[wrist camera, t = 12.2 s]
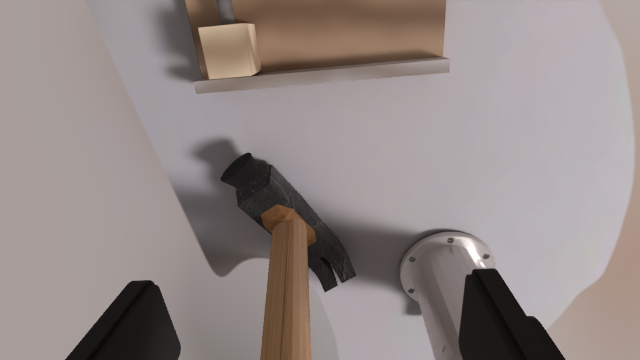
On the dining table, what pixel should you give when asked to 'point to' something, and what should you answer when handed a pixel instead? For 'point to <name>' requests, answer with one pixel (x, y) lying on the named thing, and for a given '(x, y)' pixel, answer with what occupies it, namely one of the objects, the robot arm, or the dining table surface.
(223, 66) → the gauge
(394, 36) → the board
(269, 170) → the hammer
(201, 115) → the dining table surface
